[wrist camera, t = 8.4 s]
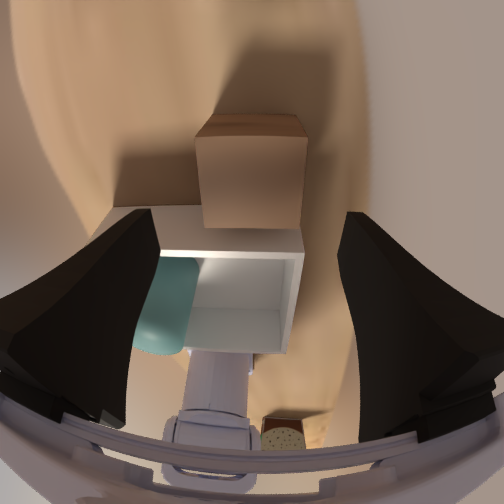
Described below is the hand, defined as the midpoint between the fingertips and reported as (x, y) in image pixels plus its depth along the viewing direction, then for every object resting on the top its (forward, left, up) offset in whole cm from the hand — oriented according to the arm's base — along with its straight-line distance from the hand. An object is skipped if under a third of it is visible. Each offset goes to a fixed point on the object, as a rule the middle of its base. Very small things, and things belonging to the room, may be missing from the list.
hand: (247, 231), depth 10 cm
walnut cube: (0, 0, -9) cm, 9 cm away
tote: (-10, +4, -9) cm, 14 cm away
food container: (-60, -6, -9) cm, 61 cm away
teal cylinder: (-10, +7, -8) cm, 14 cm away
